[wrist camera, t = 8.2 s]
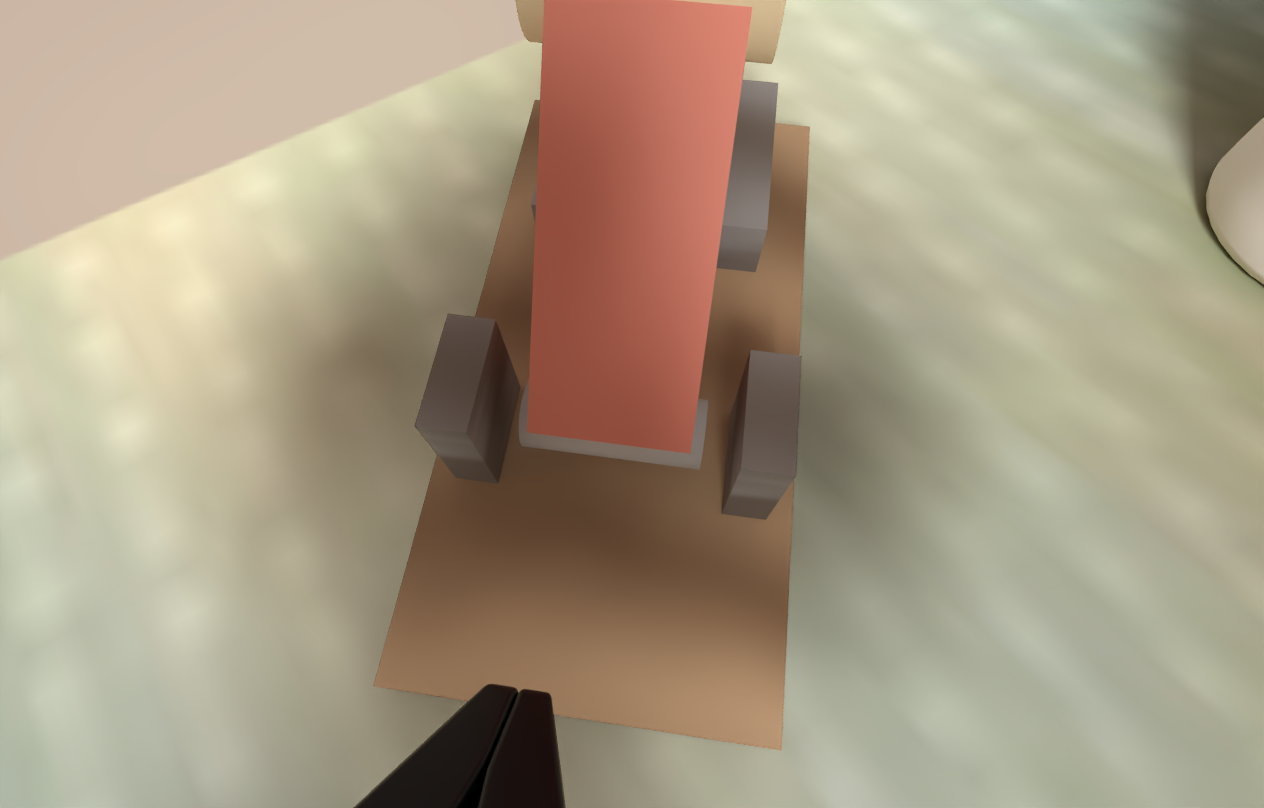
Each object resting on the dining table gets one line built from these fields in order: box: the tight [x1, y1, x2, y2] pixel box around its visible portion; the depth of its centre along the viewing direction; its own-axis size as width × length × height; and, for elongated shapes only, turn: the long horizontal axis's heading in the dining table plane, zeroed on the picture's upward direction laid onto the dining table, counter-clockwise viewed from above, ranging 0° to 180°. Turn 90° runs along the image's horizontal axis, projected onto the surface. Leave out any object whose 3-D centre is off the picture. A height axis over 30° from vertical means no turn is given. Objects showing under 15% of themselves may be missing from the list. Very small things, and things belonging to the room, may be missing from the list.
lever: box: [516, 0, 786, 470], centre depth 15 cm, size 3×5×12 cm
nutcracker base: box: [374, 80, 810, 750], centre depth 19 cm, size 20×10×5 cm, turn 172°
